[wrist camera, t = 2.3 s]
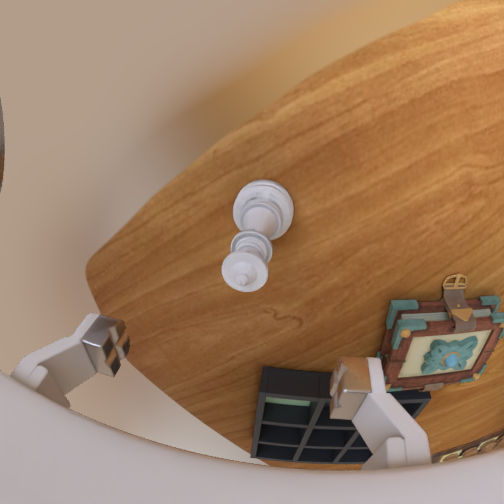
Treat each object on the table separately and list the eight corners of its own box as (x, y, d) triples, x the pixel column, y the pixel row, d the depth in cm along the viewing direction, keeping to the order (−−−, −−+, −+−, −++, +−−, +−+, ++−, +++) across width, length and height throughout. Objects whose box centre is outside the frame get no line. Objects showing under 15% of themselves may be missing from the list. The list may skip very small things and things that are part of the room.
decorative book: (491, 359, 28) (504, 388, 23) (368, 372, 30) (373, 408, 26) (533, 270, 21) (556, 297, 17) (393, 272, 24) (408, 310, 20)
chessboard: (581, 386, 30) (594, 417, 21) (520, 459, 49) (525, 482, 40) (432, 454, 42) (437, 497, 33) (404, 500, 61) (405, 526, 52)
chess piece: (242, 236, 24) (210, 320, 16) (230, 183, 22) (184, 248, 14) (297, 229, 23) (294, 315, 15) (288, 174, 21) (279, 235, 13)
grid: (253, 438, 42) (250, 457, 39) (263, 365, 32) (258, 391, 29) (372, 445, 40) (373, 463, 37) (425, 375, 30) (431, 398, 27)
